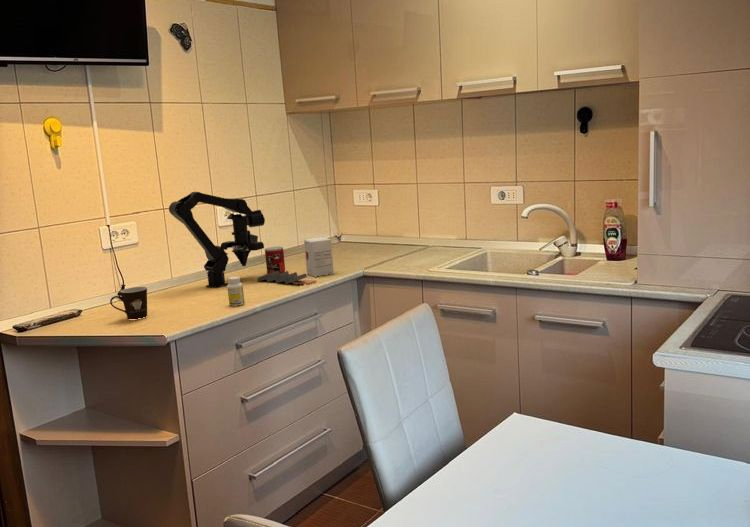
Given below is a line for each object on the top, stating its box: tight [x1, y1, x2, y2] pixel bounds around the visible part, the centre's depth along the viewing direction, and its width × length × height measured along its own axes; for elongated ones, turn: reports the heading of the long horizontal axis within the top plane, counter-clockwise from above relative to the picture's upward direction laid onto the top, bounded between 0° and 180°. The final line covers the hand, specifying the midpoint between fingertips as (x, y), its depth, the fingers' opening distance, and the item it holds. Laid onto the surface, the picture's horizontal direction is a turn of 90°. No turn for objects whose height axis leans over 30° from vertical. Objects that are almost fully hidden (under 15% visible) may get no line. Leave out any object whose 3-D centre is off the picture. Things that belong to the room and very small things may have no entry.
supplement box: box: [303, 236, 335, 278], centre depth 292 cm, size 9×9×15 cm
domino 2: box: [265, 270, 290, 283], centre depth 284 cm, size 5×2×8 cm
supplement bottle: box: [226, 276, 245, 307], centre depth 249 cm, size 5×5×10 cm
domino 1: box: [256, 271, 279, 283], centre depth 286 cm, size 5×2×8 cm
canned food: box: [264, 245, 286, 274], centre depth 302 cm, size 8×8×11 cm
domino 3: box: [275, 271, 299, 284], centre depth 280 cm, size 5×2×8 cm
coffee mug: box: [109, 286, 148, 320], centre depth 239 cm, size 12×9×10 cm
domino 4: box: [283, 272, 308, 285], centre depth 277 cm, size 5×2×8 cm
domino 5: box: [292, 279, 317, 286], centre depth 277 cm, size 5×2×8 cm
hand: (244, 266), depth 291 cm, fingers closed
